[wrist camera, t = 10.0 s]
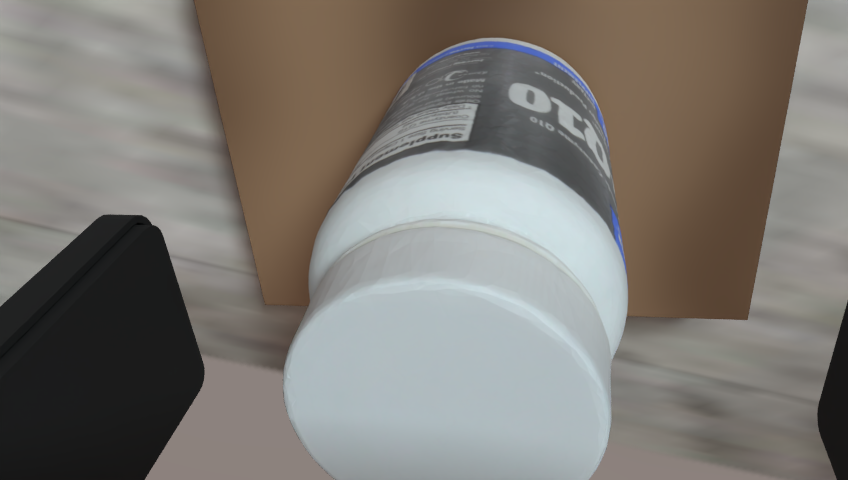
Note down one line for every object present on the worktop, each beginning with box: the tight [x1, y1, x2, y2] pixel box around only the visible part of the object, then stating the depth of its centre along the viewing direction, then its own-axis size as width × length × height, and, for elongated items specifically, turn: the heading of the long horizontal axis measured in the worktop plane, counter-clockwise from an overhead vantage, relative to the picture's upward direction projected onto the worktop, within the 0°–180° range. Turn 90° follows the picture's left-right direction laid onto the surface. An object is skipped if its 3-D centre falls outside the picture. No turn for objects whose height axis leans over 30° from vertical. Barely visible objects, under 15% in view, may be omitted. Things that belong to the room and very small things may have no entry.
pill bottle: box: [283, 38, 628, 480], centre depth 12 cm, size 5×5×8 cm
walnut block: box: [194, 0, 808, 320], centre depth 17 cm, size 12×9×2 cm
